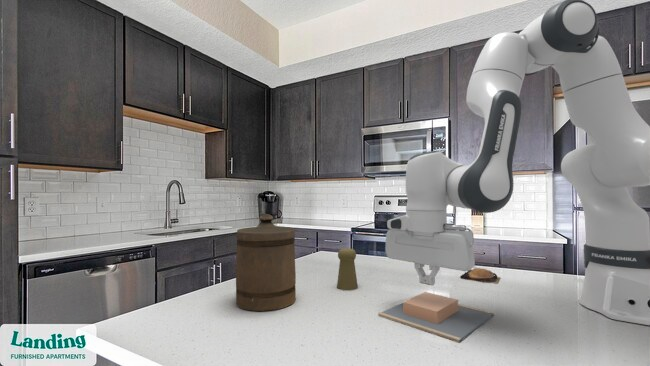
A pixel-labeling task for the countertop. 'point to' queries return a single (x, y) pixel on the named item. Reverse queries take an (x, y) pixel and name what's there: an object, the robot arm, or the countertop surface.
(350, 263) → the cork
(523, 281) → the countertop surface
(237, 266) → the wooden container
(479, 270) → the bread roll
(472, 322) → the mat
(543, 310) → the countertop surface
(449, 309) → the tile
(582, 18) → the robot arm
